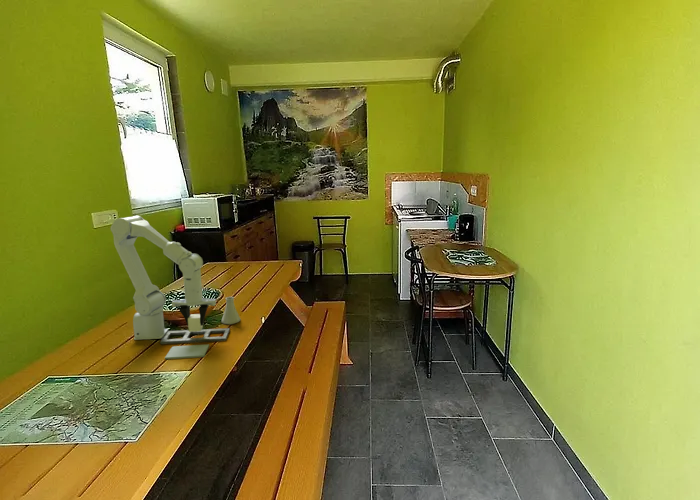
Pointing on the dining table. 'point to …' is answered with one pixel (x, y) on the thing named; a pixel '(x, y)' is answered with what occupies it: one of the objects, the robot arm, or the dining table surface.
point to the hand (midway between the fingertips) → (195, 324)
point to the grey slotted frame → (193, 340)
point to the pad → (187, 351)
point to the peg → (194, 323)
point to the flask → (230, 312)
